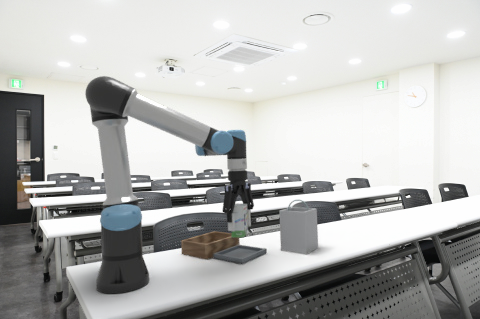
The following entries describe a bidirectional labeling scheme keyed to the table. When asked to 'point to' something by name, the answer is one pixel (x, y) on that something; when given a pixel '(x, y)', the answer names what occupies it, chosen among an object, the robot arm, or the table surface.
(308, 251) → the caddy
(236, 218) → the ink box
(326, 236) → the table surface
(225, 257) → the tray
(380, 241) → the table surface
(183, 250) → the crate
